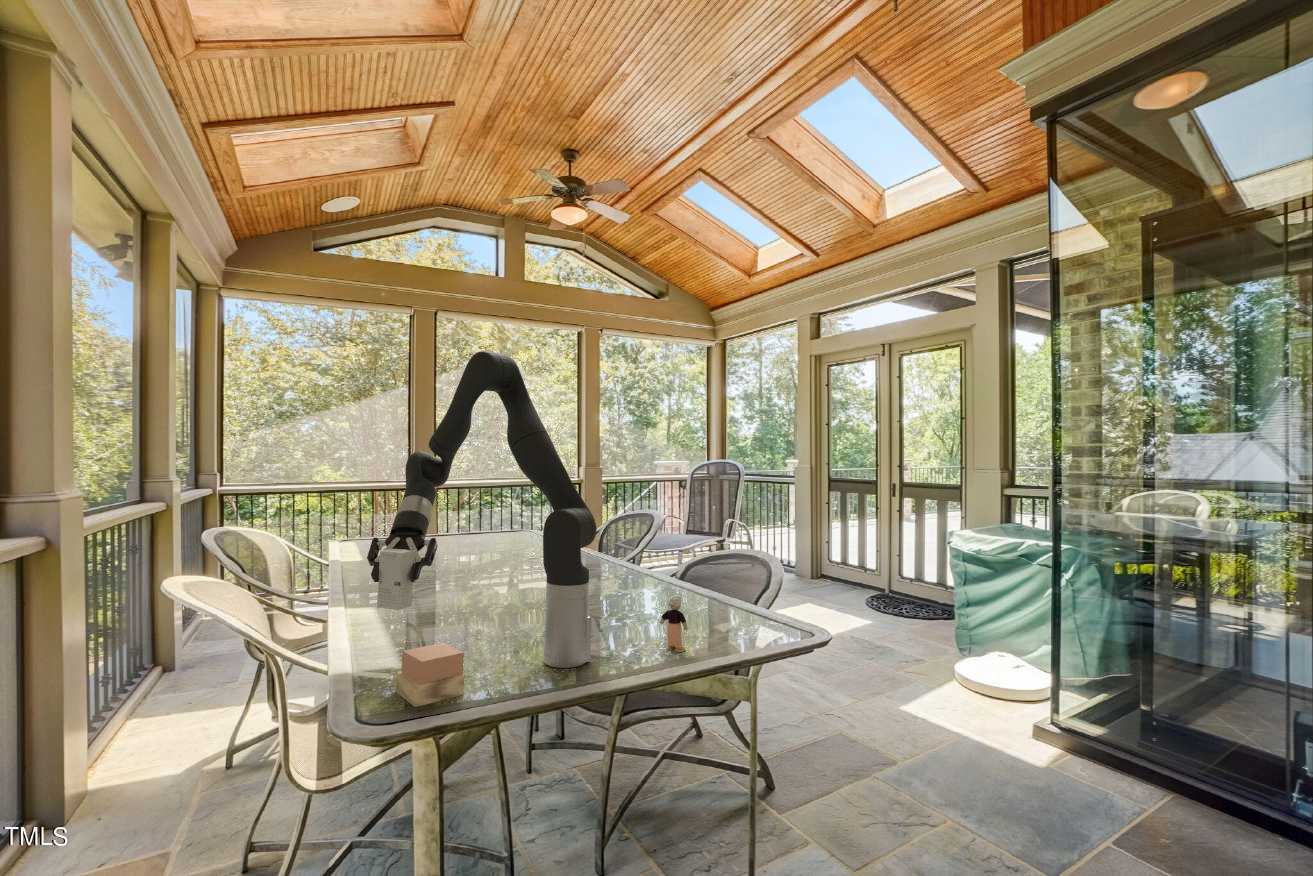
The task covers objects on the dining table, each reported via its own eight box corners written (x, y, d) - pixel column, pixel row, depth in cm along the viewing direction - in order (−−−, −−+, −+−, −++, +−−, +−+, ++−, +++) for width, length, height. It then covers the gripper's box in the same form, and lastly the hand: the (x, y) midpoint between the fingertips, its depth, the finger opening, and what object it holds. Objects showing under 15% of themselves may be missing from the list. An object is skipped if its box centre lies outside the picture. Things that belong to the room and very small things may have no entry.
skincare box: (375, 608, 129) (377, 550, 130) (390, 603, 134) (392, 548, 134) (399, 610, 128) (401, 552, 128) (414, 606, 132) (415, 549, 132)
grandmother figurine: (691, 649, 144) (693, 595, 144) (685, 654, 140) (687, 598, 141) (662, 644, 147) (663, 591, 147) (655, 648, 143) (656, 594, 144)
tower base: (442, 683, 119) (443, 662, 119) (463, 697, 113) (464, 675, 113) (395, 694, 113) (396, 672, 113) (414, 709, 106) (415, 686, 107)
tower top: (442, 663, 119) (443, 642, 119) (462, 674, 113) (463, 652, 113) (401, 672, 113) (402, 650, 113) (420, 684, 107) (421, 661, 108)
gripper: (376, 508, 138) (354, 570, 126) (441, 509, 140) (425, 569, 127) (384, 529, 143) (363, 590, 131) (446, 530, 145) (431, 590, 132)
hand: (393, 580), depth 129 cm, fingers closed on skincare box, 7 cm apart
